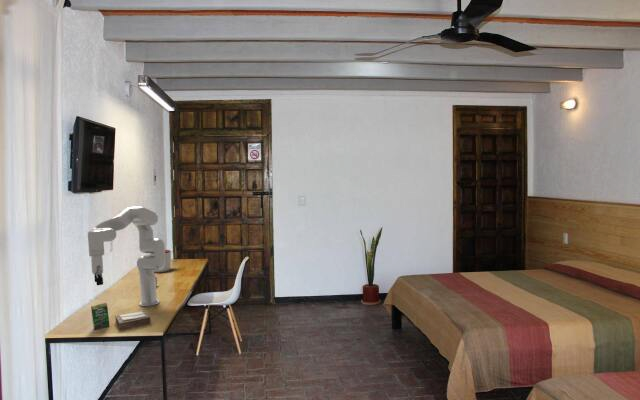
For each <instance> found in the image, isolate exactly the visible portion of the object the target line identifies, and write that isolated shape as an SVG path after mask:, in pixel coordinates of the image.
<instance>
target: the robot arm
mask: <svg viewBox="0 0 640 400" xmlns="http://www.w3.org/2000/svg"><path fill="white" fill-rule="evenodd" d="M158 221H159V217H158V215H157V213H156V212H154V211H153V210H150V209H149V208H146V207H143V206H130V207H127V208H124V209H123V210H122V211H120V213H118V214H117V215H116V216H114V217H112V218H109V219H108V220H105V221H102V222H100V223H98V224H97V225H95V226H94V227H93V228H92V229H91V230H89V231H88V232H87V239H88V240H87V242H88V243H87V244H88V253H89V257H91V262H90V263H91V273H92V275H94V282H95V283H96V286H103V285H104V277H103V273H104V265H103V264H104V262H103V256H104V255H105V246H104V245H105V244H104V243H105V242H106V243H107V242H112V241H114V240H115V239H116V237H117V232H118V231H121V230H124V229H125V228H127V227H128V226H129V225H130V224H131V223H132V224H133V225H134V226H135V227H136V229H137V231H138V237H139V238H138V242H139V243H138V245H139V246H138V248H139V251H140V253H143V254H146V255H141V256H140V257H138V258H137V260H136V267H137V271H138V274H139V276H138V277H139V287H140V302H139V303H138V305H139V306H141V307H151V306H155V305H158V304H159V303H160V302H161V301H160V299H158V296H157V293H158V292H157V286H156V279H155V276H156V274H155V273H154V272H155V271H154V270H162V269H163V268H164V265H165V250H166V247H165V243H164V241H163V239H162V238H155V237H154V232H153V231H154V230H153V227H152V226H154V225H156V224H157V223H158ZM150 253H154V255H150ZM147 254H149V255H147Z"/></svg>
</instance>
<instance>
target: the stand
mask: <svg viewBox="0 0 640 400" xmlns="http://www.w3.org/2000/svg"><path fill="white" fill-rule="evenodd" d="M114 317H115V325H116V326H117V328H118V330H119V331H125V330H129V329H134V328H140V327H143V326H148V325H151V324H152V322H151V321H152V320H151V316H150V314H149V313H148V312H147V311H146V310H138V311H134V312H128V313H123V314H118V315H115V316H114Z"/></svg>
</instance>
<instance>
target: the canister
mask: <svg viewBox="0 0 640 400" xmlns="http://www.w3.org/2000/svg"><path fill="white" fill-rule="evenodd" d="M172 252H173V251H172V250H170V249H165V265H164V268H163V269H162V270H153V272H155V273H166V272H168V271H170V269H171V257H172ZM149 255H154V253H149Z"/></svg>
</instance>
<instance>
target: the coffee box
mask: <svg viewBox="0 0 640 400" xmlns="http://www.w3.org/2000/svg"><path fill="white" fill-rule="evenodd" d="M90 310H91V319H92V327H93V330H94V331H96V330H101V329H104V328H109V327H110V318H109V308H108V303H106V302H105V303H101V304H96V305H92V306H90Z"/></svg>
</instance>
